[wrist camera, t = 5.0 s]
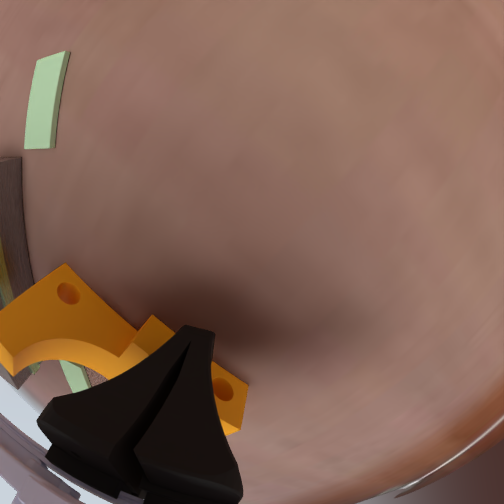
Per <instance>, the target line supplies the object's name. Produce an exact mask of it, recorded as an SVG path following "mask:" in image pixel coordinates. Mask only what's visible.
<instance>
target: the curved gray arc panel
mask: <svg viewBox="0 0 504 504" xmlns="http://www.w3.org/2000/svg"><path fill="white" fill-rule="evenodd" d="M21 163H22V157H9V158H0V311H1V310H2V309H3V308H5V307H6V306H7V305H8V304H10V303H11V302H12V301H13V300H15V299H16V298H17V297H18V296H20V295H21V294H22V293H24V292H25V291H26V290H28V289H29V288H30V287H32V286H33V285H34V282H33V277H32V273H31V268H30V262H29V256H28V250H27V244H26V236H25V228H24V218H23V205H22V182H21ZM41 362H42V361H40V362H36V363H33V364H31V365H29V366H27V367H25V368H23V369H22V370H21V371H19V372H18V373H17V374H16V375H15V376H14V377H13V376H12V375H11V374H10V373H9V372H8V371H7V370H6V368H5V367H4V366H3V365H2V364H1V363H0V376H1V377H3V378H4V379H5V380H6V381H7V382H9V383H10V384H11V385H12V386H14V387H15V388H16V389H17V390H18V389H19V388H20V387H21V386H22V384H23V383H24V382H25V381H26V380H27V378H28V377H29V376H30V375H31V374H32V373H33V374H35V373H36V372H37V371H38V369H39V368H40V367H39V364H40V363H41Z"/></svg>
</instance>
